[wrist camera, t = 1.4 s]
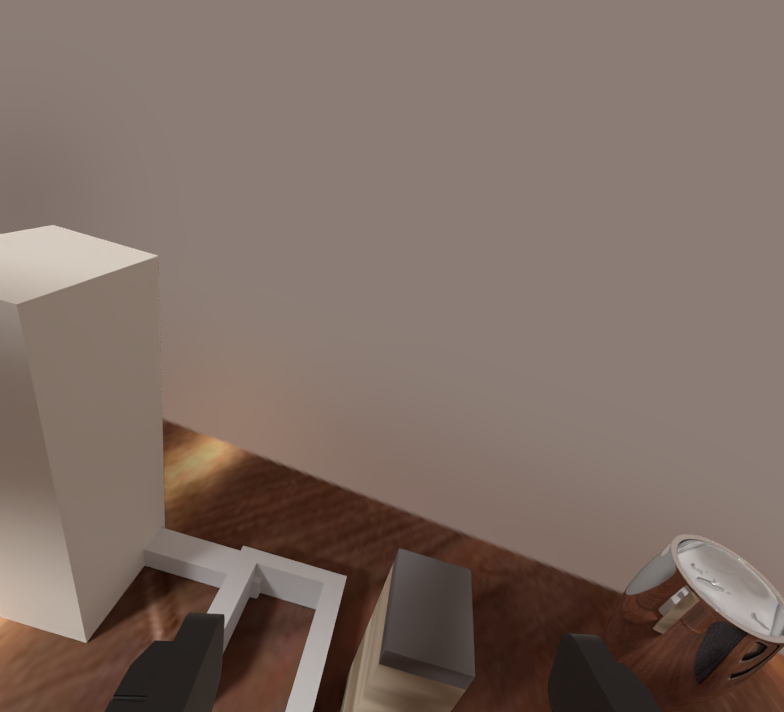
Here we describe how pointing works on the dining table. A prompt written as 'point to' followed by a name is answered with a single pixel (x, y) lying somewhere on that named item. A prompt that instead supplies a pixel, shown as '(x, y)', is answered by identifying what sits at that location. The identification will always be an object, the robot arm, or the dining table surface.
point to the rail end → (415, 641)
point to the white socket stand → (106, 453)
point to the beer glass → (696, 623)
